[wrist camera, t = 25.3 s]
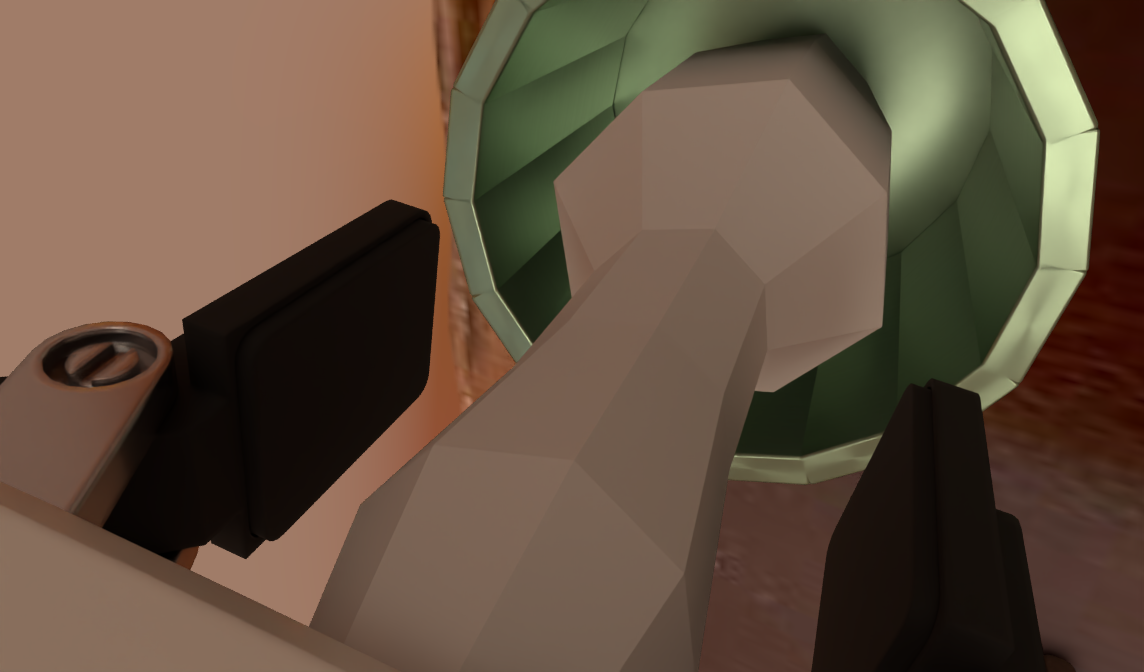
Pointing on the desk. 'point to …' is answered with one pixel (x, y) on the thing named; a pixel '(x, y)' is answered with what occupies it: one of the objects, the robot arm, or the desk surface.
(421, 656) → the low poly bottle
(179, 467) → the robot arm
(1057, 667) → the brown thin branching figure
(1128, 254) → the desk surface
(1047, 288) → the tin
